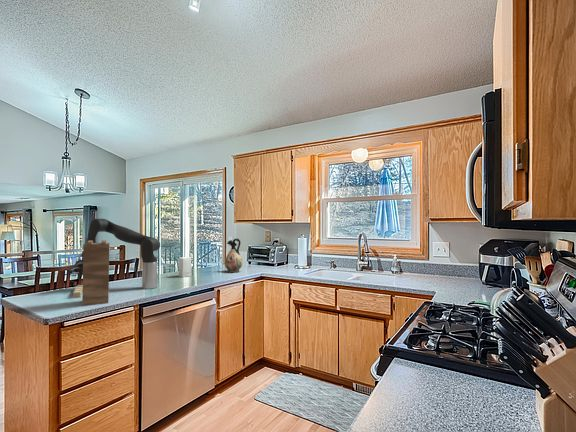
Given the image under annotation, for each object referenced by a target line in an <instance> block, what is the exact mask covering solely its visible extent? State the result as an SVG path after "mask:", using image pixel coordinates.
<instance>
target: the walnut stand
mask: <svg viewBox="0 0 576 432" xmlns="http://www.w3.org/2000/svg"><path fill="white" fill-rule="evenodd" d="M86 242H87V241H86ZM86 242H85V243H84V244H83V245H82V246H83V248H82V249H83V250H82V253H83V257H82V260H83V275H82V285H83V292H82V295H81V299H82V301H81V302H82V303H81V306H89V305H92V306H93V305H100V304H109V298H110V297H109V288H110V286H109V285H110V281H109V280H110V242H107V239H105V240H104V239H103V240H101V242H96V243H93V240H92V241H88V242H87V243H86Z"/></svg>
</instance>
